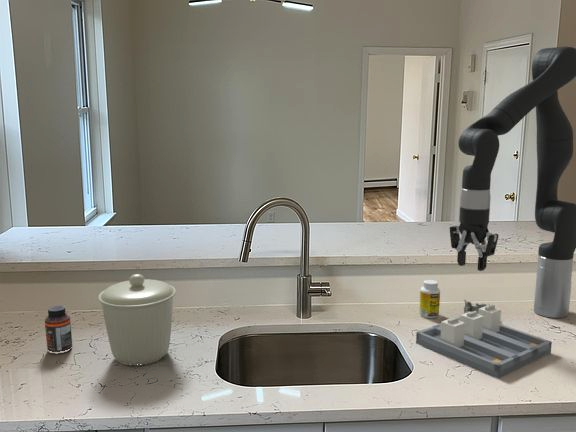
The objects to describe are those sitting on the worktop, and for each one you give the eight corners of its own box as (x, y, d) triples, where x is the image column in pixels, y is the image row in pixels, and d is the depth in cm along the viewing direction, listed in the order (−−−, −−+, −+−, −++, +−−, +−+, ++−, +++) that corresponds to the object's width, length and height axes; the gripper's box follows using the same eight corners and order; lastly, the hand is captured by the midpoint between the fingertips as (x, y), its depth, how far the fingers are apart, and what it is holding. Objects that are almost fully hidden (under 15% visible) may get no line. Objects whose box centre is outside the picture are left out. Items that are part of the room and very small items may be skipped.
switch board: (469, 323, 162) (470, 313, 162) (550, 353, 143) (551, 341, 143) (416, 343, 149) (416, 332, 149) (497, 378, 130) (498, 365, 130)
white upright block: (486, 326, 156) (488, 302, 154) (499, 331, 153) (501, 306, 151) (477, 330, 153) (478, 305, 152) (490, 335, 150) (492, 310, 149)
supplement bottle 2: (429, 320, 165) (431, 286, 163) (415, 314, 169) (416, 281, 167) (443, 316, 168) (444, 282, 166) (428, 310, 172) (430, 277, 170)
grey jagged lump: (462, 311, 172) (462, 298, 171) (488, 313, 171) (489, 299, 170) (467, 325, 162) (468, 311, 161) (495, 326, 161) (496, 312, 160)
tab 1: (450, 340, 147) (451, 315, 146) (463, 345, 144) (465, 319, 143) (440, 344, 145) (441, 318, 143) (453, 349, 142) (454, 323, 140)
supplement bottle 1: (43, 350, 146) (39, 308, 144) (65, 343, 151) (62, 301, 148) (54, 357, 142) (50, 313, 140) (77, 349, 147) (73, 307, 144)
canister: (129, 381, 130) (123, 291, 126) (88, 358, 142) (82, 275, 138) (193, 355, 143) (190, 273, 139) (151, 335, 155) (146, 259, 151)
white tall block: (469, 333, 151) (470, 308, 150) (482, 338, 148) (483, 313, 147) (459, 337, 149) (460, 311, 148) (472, 342, 146) (473, 316, 145)
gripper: (507, 207, 148) (503, 271, 152) (461, 200, 160) (458, 259, 163) (489, 211, 144) (485, 276, 147) (443, 203, 155) (440, 264, 159)
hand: (471, 267), depth 155 cm, fingers open, 5 cm apart
